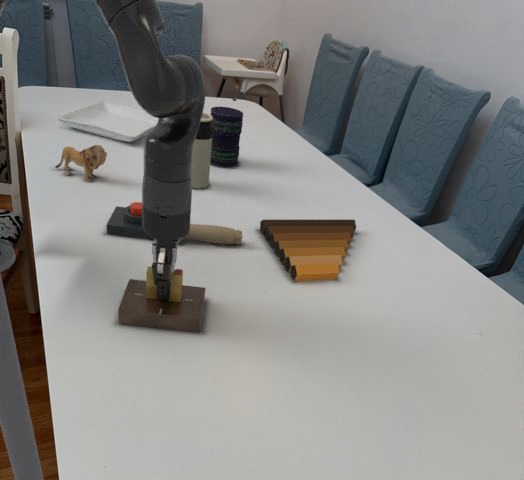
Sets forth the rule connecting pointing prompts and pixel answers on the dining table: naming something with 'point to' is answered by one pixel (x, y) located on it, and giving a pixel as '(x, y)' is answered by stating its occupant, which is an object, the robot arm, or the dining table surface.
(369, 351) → the dining table surface
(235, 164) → the storage jar
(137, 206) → the button
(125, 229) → the button housing
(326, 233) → the pan flute
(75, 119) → the square plate
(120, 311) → the panel
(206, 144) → the travel mug
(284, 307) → the dining table surface
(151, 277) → the lock knob
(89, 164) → the lion figurine
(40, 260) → the dining table surface
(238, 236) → the handle
